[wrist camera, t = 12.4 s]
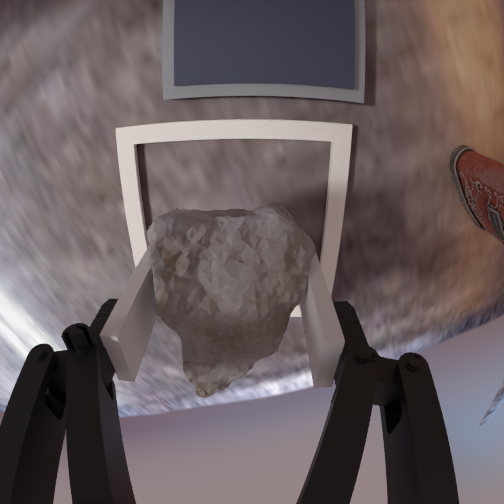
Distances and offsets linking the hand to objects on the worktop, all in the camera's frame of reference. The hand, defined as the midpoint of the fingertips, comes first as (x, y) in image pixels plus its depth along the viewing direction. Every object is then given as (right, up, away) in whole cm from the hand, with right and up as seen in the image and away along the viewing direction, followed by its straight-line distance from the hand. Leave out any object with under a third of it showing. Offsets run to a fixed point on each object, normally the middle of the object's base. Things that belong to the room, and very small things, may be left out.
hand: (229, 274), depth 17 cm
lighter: (+19, +6, +3) cm, 20 cm away
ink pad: (+2, +16, -2) cm, 16 cm away
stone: (-1, 0, +1) cm, 1 cm away
